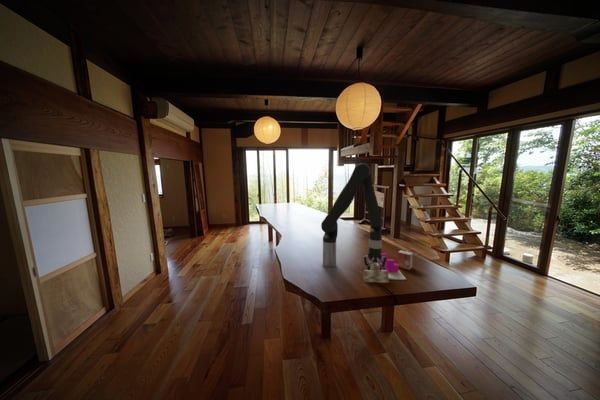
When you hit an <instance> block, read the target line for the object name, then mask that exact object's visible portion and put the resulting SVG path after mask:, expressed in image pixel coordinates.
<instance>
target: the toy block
mask: <svg viewBox="0 0 600 400" xmlns="http://www.w3.org/2000/svg"><path fill="white" fill-rule="evenodd" d="M381 256H385V257H386V262H385V266H382V268H384V270H387V271H388V272H398V270H399V267H398V265H397V263H396V262H395V260H394V259H393V258H388V254H387V253H386V252H385V253H383V252H381ZM382 260H383V259H382V258H381V259H380V260H379V261H380V263H381V264H382Z"/></svg>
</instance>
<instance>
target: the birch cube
mask: <svg viewBox="0 0 600 400" xmlns="http://www.w3.org/2000/svg"><path fill="white" fill-rule="evenodd" d="M370 270H379V271H380V266H379V264H378V262H372V264H371V265H370Z"/></svg>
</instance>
